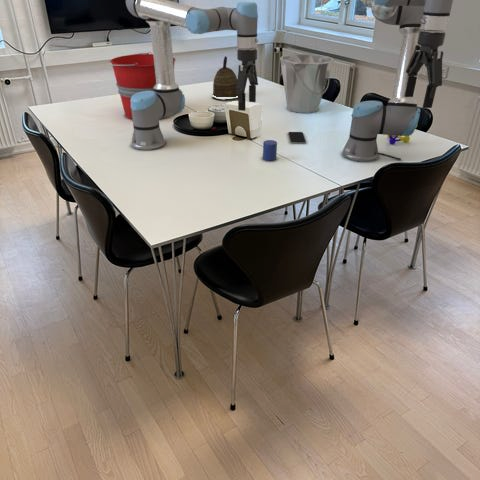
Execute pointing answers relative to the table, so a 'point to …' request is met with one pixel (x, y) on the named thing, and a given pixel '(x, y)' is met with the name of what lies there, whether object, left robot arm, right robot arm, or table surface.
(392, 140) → the educational toy
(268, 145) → the can
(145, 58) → the bucket
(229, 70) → the bell
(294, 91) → the bucket
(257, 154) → the table surface
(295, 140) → the smartphone
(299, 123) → the table surface
